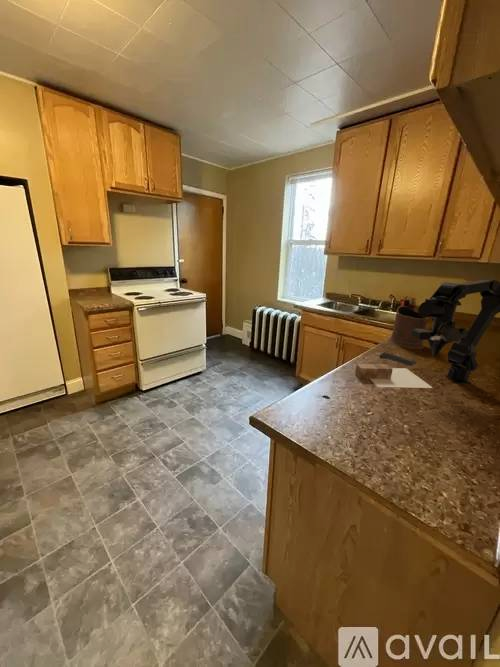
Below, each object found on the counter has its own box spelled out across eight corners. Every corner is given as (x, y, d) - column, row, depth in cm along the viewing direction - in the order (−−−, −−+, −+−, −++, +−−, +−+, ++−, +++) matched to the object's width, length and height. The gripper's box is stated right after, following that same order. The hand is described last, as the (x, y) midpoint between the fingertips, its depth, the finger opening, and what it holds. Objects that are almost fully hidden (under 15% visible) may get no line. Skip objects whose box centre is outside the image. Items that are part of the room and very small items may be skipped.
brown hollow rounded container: (405, 337, 174) (413, 297, 166) (441, 351, 152) (453, 305, 145) (381, 339, 168) (389, 297, 160) (415, 353, 146) (426, 306, 139)
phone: (384, 352, 144) (416, 361, 133) (384, 354, 144) (416, 363, 134) (378, 355, 138) (411, 365, 128) (378, 358, 139) (410, 368, 128)
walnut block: (387, 364, 117) (356, 363, 116) (392, 369, 113) (361, 368, 112) (385, 374, 118) (354, 373, 117) (390, 379, 114) (359, 378, 113)
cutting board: (406, 369, 125) (406, 368, 125) (432, 389, 108) (433, 387, 108) (358, 368, 124) (358, 367, 124) (377, 388, 107) (377, 386, 107)
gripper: (434, 321, 97) (424, 363, 101) (486, 323, 98) (473, 364, 102) (415, 314, 107) (406, 352, 112) (461, 315, 108) (451, 353, 113)
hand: (434, 355), depth 110 cm, fingers closed
